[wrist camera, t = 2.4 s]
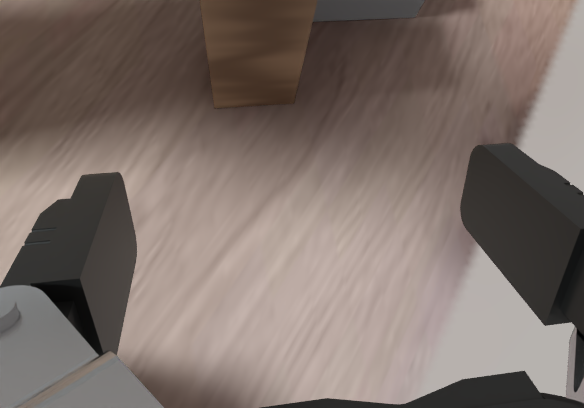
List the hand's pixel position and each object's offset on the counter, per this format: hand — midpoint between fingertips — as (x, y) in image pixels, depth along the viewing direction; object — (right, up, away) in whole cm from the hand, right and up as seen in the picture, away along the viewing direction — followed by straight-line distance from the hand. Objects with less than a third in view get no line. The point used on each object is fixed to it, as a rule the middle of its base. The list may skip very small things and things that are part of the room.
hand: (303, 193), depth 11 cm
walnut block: (-3, +8, +16) cm, 18 cm away
